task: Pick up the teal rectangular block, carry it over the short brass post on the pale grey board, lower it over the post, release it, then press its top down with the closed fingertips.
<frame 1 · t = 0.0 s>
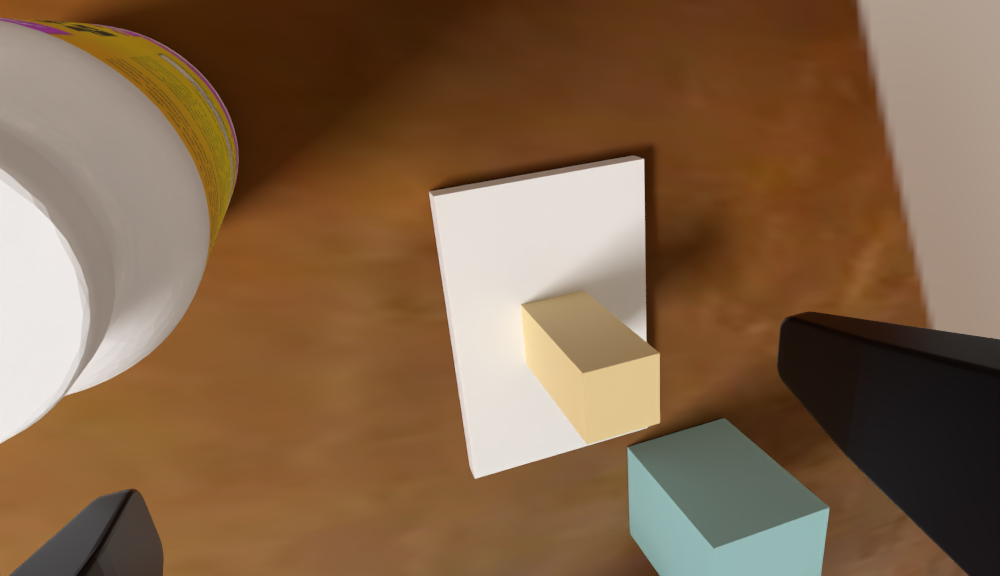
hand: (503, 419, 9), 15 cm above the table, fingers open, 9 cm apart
post stand: (547, 319, 26), on the table
supplement bottle: (120, 143, 19), on the table
teal rectangular block: (676, 476, 31), on the table
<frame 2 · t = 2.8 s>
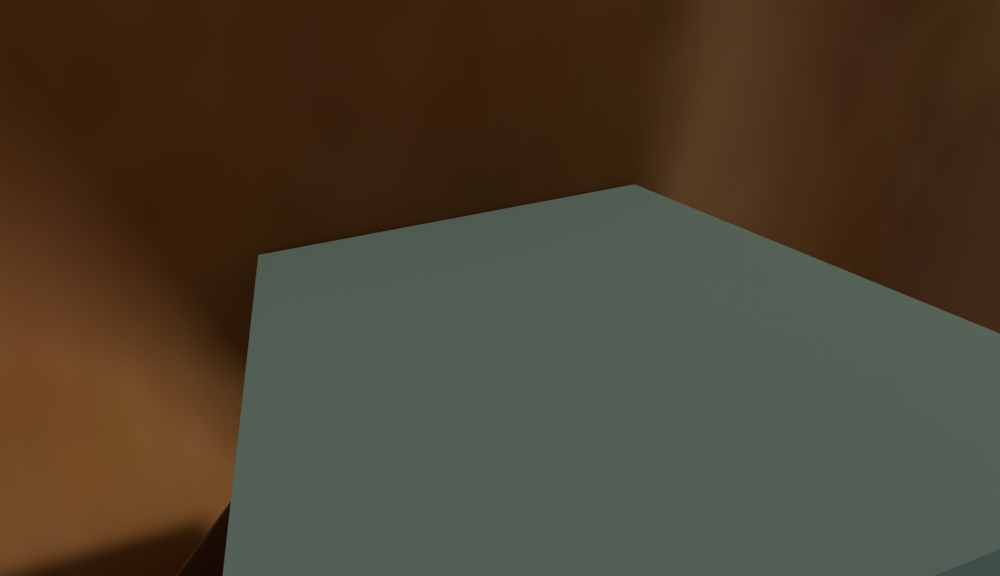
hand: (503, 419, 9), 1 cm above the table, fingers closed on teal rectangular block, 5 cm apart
teal rectangular block: (482, 383, 10), on the table, touching gripper
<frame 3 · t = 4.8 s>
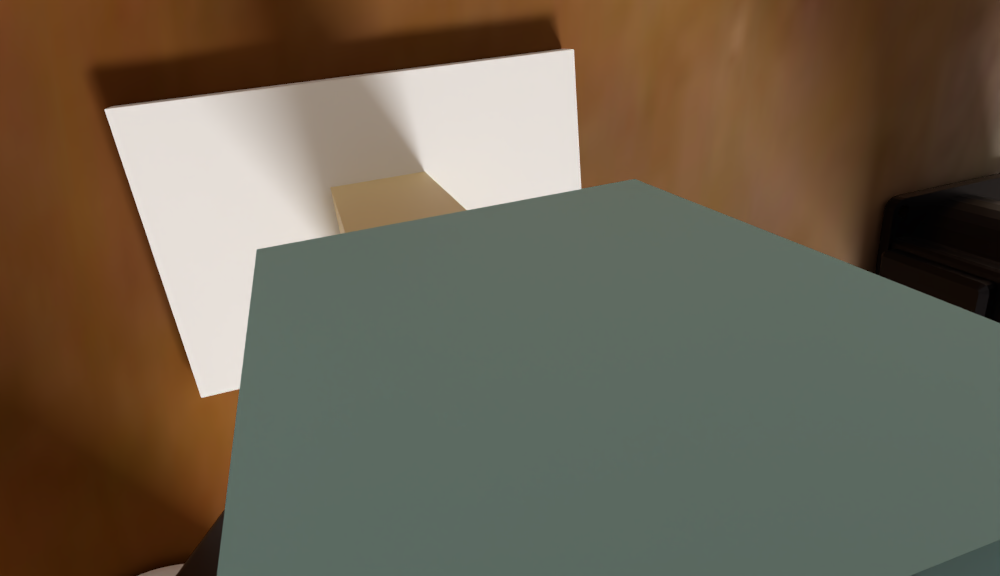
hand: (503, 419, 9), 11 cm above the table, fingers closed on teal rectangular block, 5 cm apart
post stand: (382, 217, 19), on the table
teal rectangular block: (481, 379, 9), point 10 cm above the table, touching gripper
when the fingers open (3 cm above the table, at t = 6.9 s): teal rectangular block drops 2 cm, resting on post stand.
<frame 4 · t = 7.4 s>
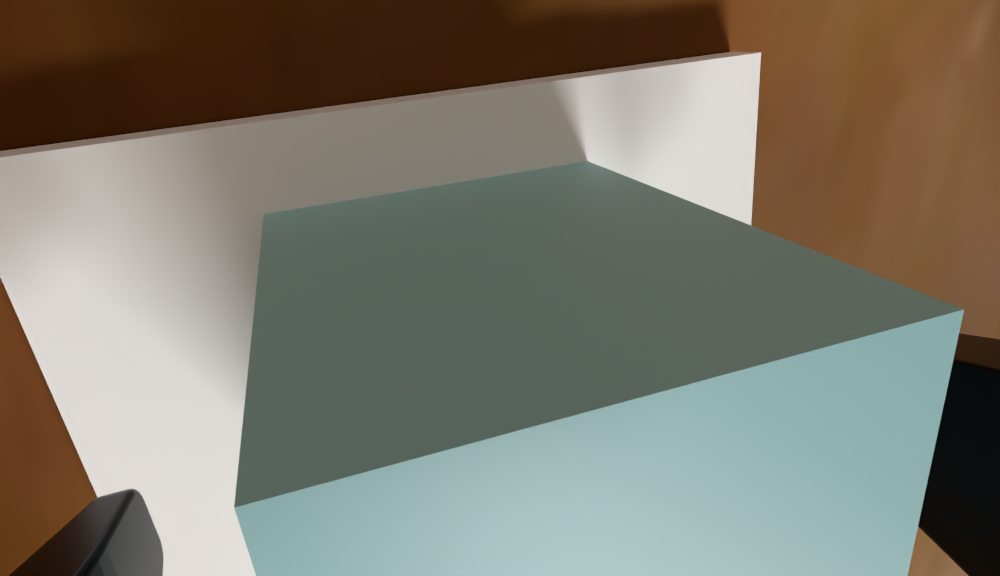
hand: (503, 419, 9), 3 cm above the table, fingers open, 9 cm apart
post stand: (442, 319, 12), on the table
teal rectangular block: (455, 333, 11), point 1 cm above the table, touching post stand
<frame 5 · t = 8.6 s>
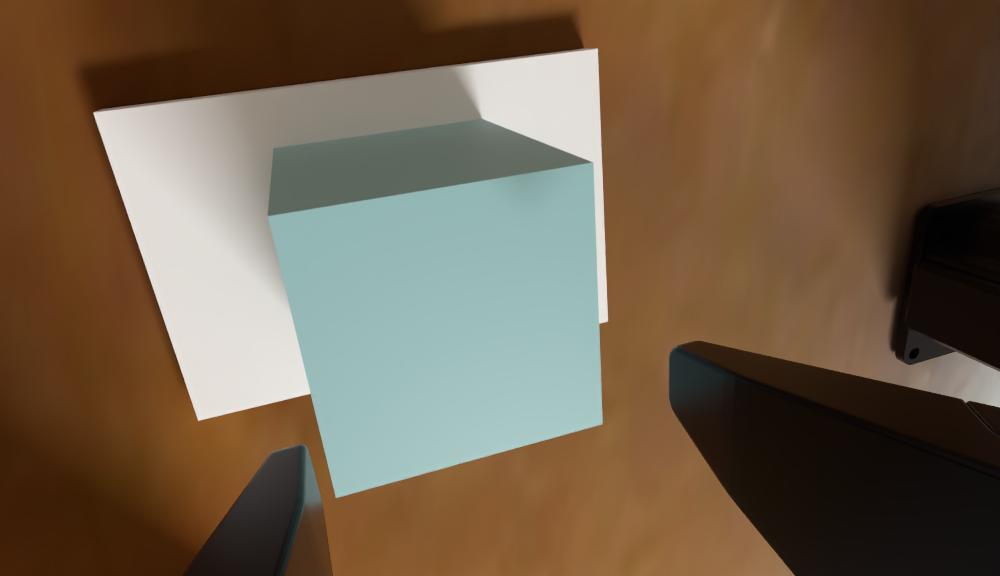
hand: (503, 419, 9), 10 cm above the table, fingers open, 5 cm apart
post stand: (392, 227, 17), on the table
teal rectangular block: (398, 232, 17), point 1 cm above the table, touching post stand
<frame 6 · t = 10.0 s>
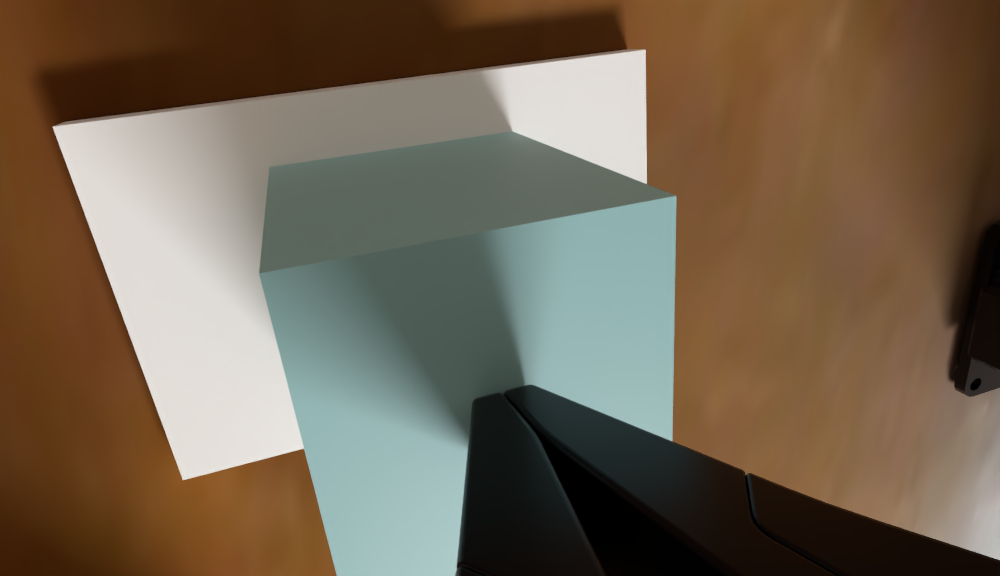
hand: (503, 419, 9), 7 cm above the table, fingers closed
post stand: (406, 255, 15), on the table
teal rectangular block: (414, 262, 14), point 1 cm above the table, touching post stand
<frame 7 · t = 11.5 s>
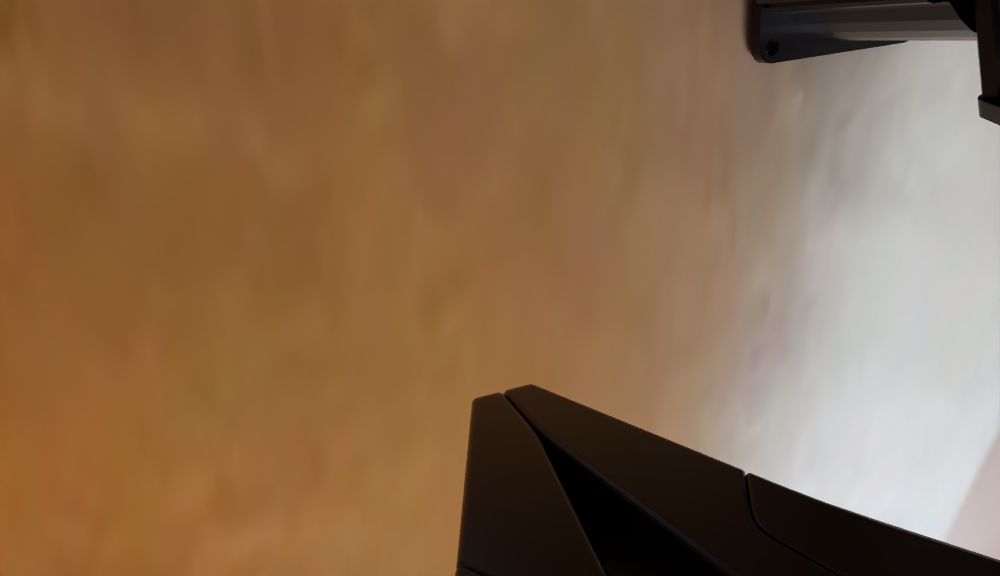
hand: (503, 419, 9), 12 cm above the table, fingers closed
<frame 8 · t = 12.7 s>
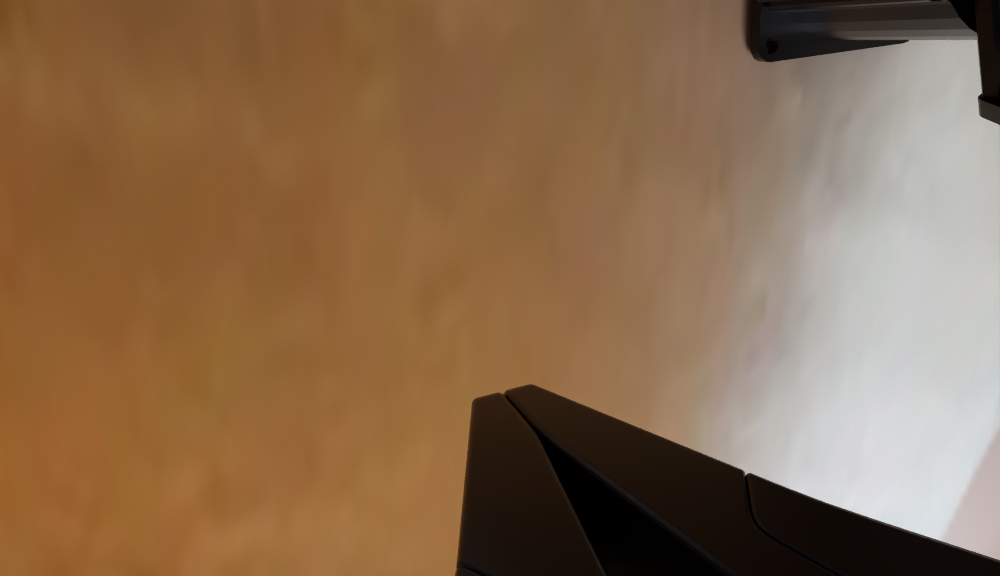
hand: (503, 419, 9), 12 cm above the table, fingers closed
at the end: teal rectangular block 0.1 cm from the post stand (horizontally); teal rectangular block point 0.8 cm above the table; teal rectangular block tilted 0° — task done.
